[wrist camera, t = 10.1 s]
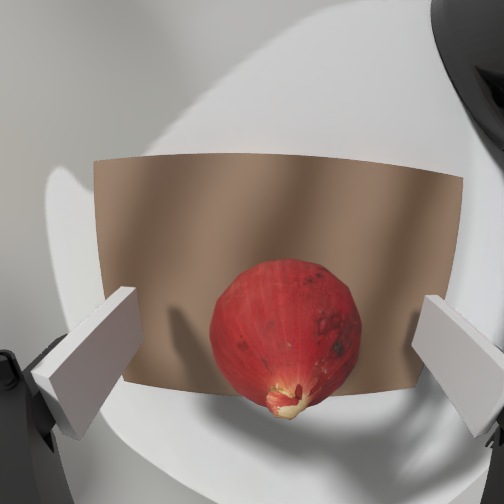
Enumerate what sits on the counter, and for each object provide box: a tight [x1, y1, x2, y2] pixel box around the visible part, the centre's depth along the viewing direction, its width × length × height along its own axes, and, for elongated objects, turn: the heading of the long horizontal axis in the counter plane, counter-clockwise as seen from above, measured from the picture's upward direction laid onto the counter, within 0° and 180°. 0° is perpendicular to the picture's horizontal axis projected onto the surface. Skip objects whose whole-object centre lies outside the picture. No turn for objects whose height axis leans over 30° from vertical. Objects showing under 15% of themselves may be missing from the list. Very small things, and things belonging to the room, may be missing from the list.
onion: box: [209, 258, 362, 420], centre depth 11 cm, size 6×6×8 cm
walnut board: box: [94, 153, 463, 396], centre depth 15 cm, size 20×14×2 cm
